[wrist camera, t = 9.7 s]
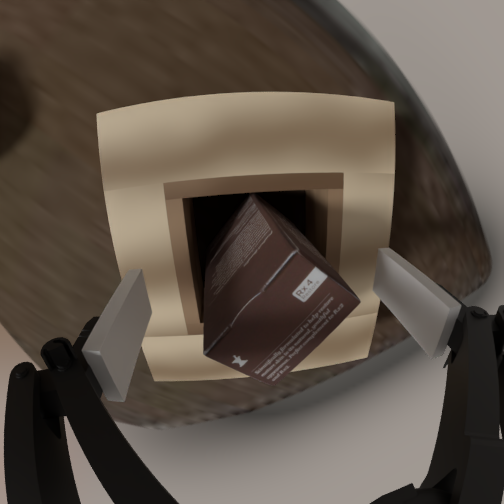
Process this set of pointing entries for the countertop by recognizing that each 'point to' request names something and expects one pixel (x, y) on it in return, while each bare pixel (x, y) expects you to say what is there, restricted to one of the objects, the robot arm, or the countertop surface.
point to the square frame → (245, 181)
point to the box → (268, 294)
